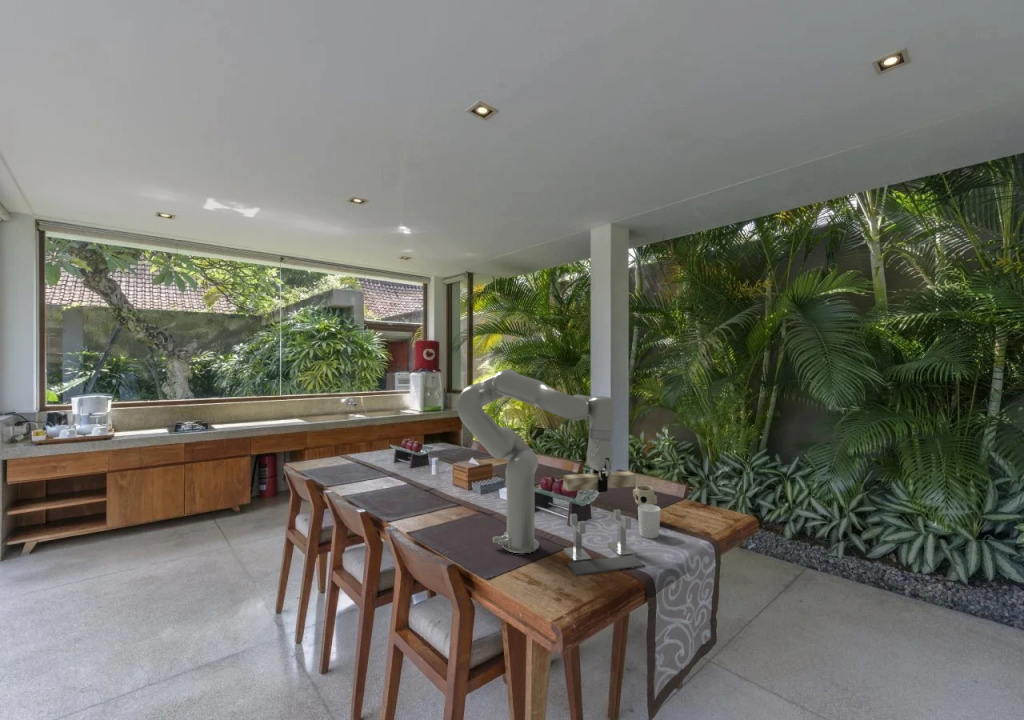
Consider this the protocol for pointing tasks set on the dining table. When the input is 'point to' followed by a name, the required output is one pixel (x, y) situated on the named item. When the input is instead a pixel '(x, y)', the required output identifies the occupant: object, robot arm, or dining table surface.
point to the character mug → (644, 495)
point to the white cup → (649, 520)
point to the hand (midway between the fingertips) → (599, 488)
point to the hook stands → (618, 547)
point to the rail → (591, 481)
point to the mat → (604, 565)
